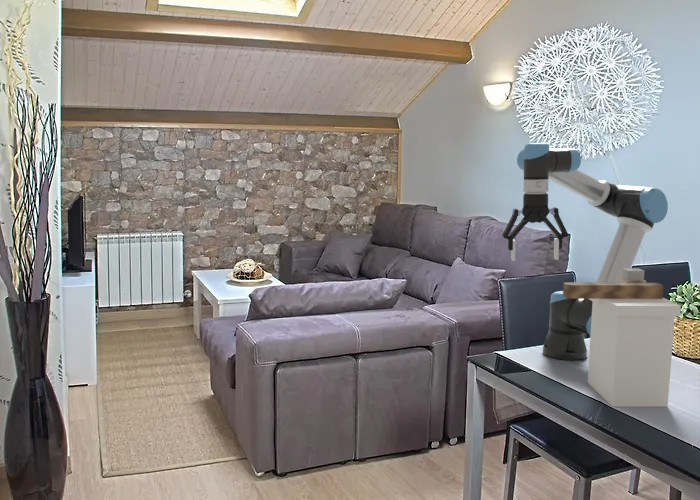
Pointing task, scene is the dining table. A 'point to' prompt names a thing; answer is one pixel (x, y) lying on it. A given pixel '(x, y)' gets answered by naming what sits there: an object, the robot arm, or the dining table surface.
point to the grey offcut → (633, 274)
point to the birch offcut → (631, 281)
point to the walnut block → (612, 290)
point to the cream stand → (632, 350)
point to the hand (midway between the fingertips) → (534, 259)
